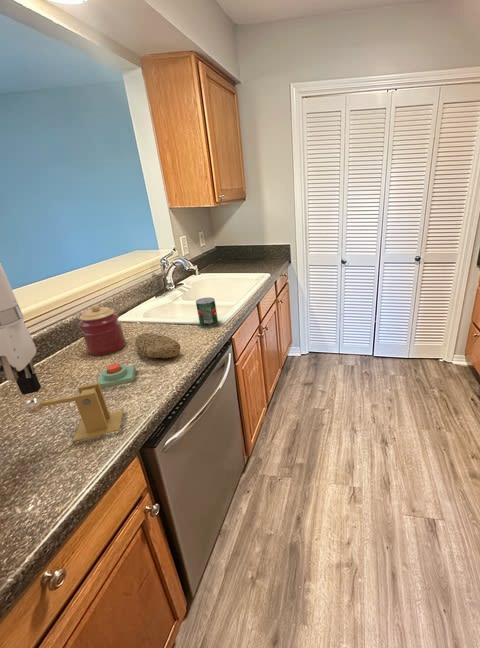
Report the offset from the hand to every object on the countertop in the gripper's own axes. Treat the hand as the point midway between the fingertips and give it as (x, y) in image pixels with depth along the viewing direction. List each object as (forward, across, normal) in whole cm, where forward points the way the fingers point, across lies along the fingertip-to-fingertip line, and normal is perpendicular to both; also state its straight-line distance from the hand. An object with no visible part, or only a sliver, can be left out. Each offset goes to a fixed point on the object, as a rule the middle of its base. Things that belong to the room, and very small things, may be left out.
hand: (32, 391), depth 74 cm
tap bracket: (+14, 0, +10) cm, 18 cm away
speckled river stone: (+15, -37, +23) cm, 46 cm away
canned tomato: (+15, -57, +43) cm, 73 cm away
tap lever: (+6, 0, +4) cm, 7 cm away
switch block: (+14, -23, +11) cm, 29 cm away
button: (+11, -23, +11) cm, 28 cm away
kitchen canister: (+14, -51, +4) cm, 53 cm away
